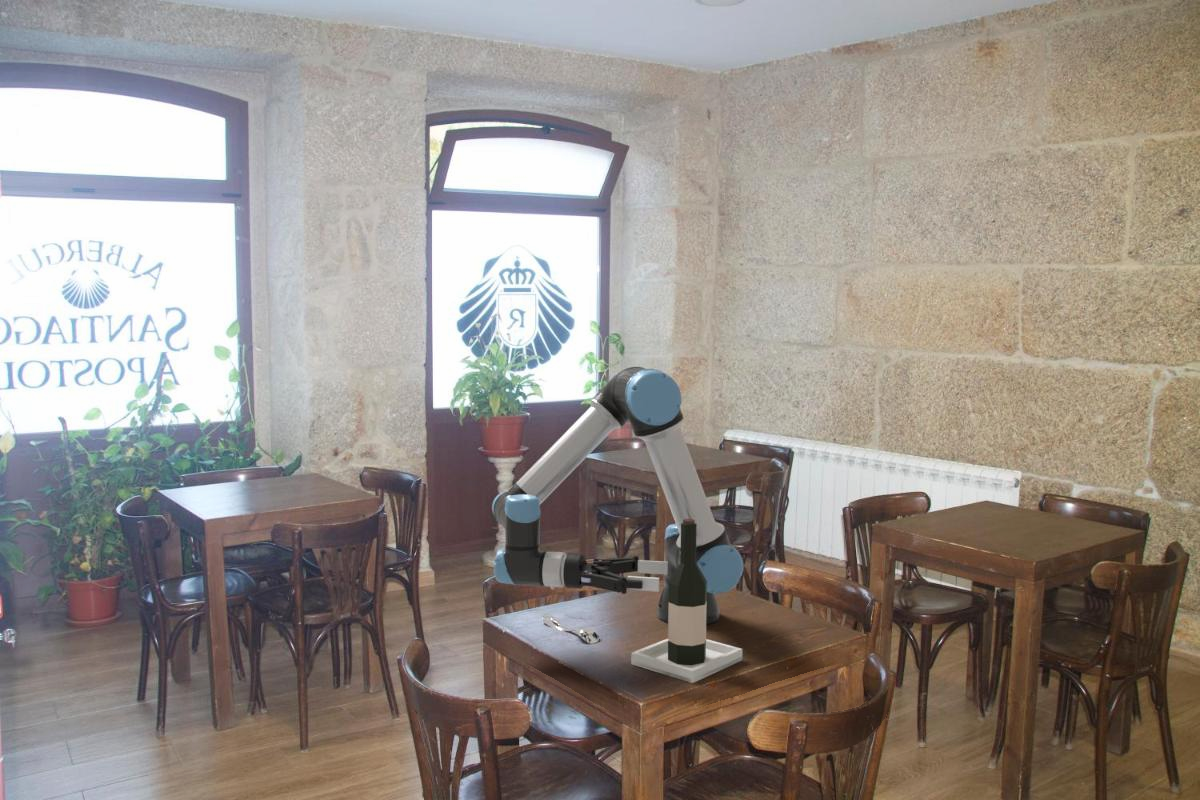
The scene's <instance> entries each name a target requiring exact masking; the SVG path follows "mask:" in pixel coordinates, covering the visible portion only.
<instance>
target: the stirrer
mask: <svg viewBox="0 0 1200 800" xmlns="http://www.w3.org/2000/svg"><path fill="white" fill-rule="evenodd" d="M547 618H550V619H551V620H550V619H547ZM541 620H542V621H543V623H544V624H546V625H547V626H548V627H550V628H552V629H558V630H560V631H563V632H576V634H577V636H579V637H580V638H582V639H583V641H585V642H586V643H587V644H589V645H590V644H596V643H598V642H599V640H600V636H599V633H598V631H596V630H595V629H593V628H592V627H580V628H575V629H567V628H565V627H563V625H562V624H561V623H560V622H559V620H558V619H557V618H556V617H554V616H553V615H551V614H549V613H547V614H546V613H545V614H542V615H541Z"/></svg>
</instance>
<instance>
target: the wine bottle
mask: <svg viewBox="0 0 1200 800" xmlns="http://www.w3.org/2000/svg"><path fill="white" fill-rule="evenodd" d="M696 534H697V524H696V523H695V520H693V519H684V520H683V523H681V561H680V565H679V566H678V568H677V570H676V571H675V573H674V575H673V576H672V578H671V580H670V582H669V609H668V622H667V625H668V627H667V639H668V660H669V661H671V662H673V663H676V664H681V665H696V664H700V663H704V661H705V658H706V639H707V624H706V606H707V580H706V579H705V577H704V575H703V574H702V572H701V570H700V568H699V567H698V565H697V563H696Z"/></svg>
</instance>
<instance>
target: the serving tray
mask: <svg viewBox="0 0 1200 800" xmlns="http://www.w3.org/2000/svg"><path fill="white" fill-rule="evenodd" d="M630 659H631V660H630V661H631V662H630V664H631V665H633V666H635V667H639V668H642V669H645V670H648V671H652V672H655V673H658V674H662V675H664V676H668V677H671V678H674V679H677V680H681V681H684V682H687V683H690V684H694V683H697V682H698V681H700V680H702V679H705V678H707V677H709V676H711V675H713V674H715V673H717V672H720V671H723V670H724V669H726V668H728V667H730V666H733V665H735V664H738V663H740V662H742V661H743V648H740V647H736V646H733V645H730V644H725V643H722V642H718V641H716V640H711V639H707V638H706V658H705V661H704V663H700V664H696V665H681V664H676V663H673V662H671V661H669V660H668V638H666V639H663V640H660V641H658V642H656V643H652V644H650V645H647V646H645V647H643V648H640V649H637V650H635V651H633V652H631V656H630Z"/></svg>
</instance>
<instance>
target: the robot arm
mask: <svg viewBox="0 0 1200 800" xmlns="http://www.w3.org/2000/svg"><path fill="white" fill-rule="evenodd" d="M681 406H682V392H681V389H680V387H679V385H678V383H677V382H676V381H675V380H674V379H673V377H671V376H670V375H669V374H667V373H665V372H663V371H661V370H659V369H654V368H645V367H641V366H631V367H626V368H625V369H622V370H621V371H619V372H617V373H616V374H614V376H613V377H612V378H610V379H609V381H608V382H607V383H606V384H605V385H604V386H603V387H602V388H601V389H600V390H599V391H598V392H597V393H596V394H595V395H594V396H593V397H592V398H591V399H590V407H589V408H587V410H586V411H585V412H584V413H583V414H582V415H580V417H579V418H578V419H577V420H576V421H575V422H574V423H573V424H572V425H570V427H569V428H568V429H567V430H566V431H565V433H563V434H562V435H561V437H559V438H558V439H557V440H556V442H554V443H553V444H552V446H550V448H549V449H548V450H547V451H546V452H545V453H544V454H543V455H542V456H540V458H539V459H538V460H537V461H536V462H535V463H534V464H533V465H532V466H531V467H530V468H529V469H528V470H527V471H526V472H525V473H524V475H523V476H522V477H520V478H519V480H518V481H516V483H514V484H513V485H512V486H511V487H510V488H509V489H508V490H507V491H502V492H501V493H499V494H497V495H496V497H494V499H493V501H492V503H491V504H492V505H491V511H492V514H493V515H494V516H493V517H494V519H496V522H497V523H498V524H499V525H501V526H502V527H503V529H504V531H505V534H504V535H505V545H504V546H505V547H504V548H501V549H499V550H497V552H496V554H495V557H494V564H493V573H494V578H495V579H496V581H497V582H499V583H501V584H505V585H507V584H508V585H513V586H531V587H550V589H551V590H555V588H563V587H565V588H567V589H575V590H576V589H577V590H578V589H579V590H581V589H583V588H584V587H593V588H597V589H602V590H606V591H611V592H614V593H615V592H616V593H621V594H622V595H625V594H627V592H628V591H627V590H629V591H641V592H643V591H645V592H658V593H659V591H660V577H651V576H649V577H648V576H637V575H636V576H635V575H633V576H632V575H628V576H627V577H626V576H622V575H621V574H626V573H633V572H637V573H638V574H650V575H664V586H663V589H662V592H661V595H660V597H659V600H658V604H657V611H656V613H657V614H656V615H657V617H658V619H660V620H661V621H663V622H667V623H668V609H669V582H670V580H671V578H672V576H673V575H674V573H675V571H676V570H677V568H678V566H679V565H680V561H681V523H683V520H684V519H693V520H695V523H696V524H697V534H696V563H697V565H698V567H699V568H700V570H701V572H702V574H703V575H704V577H705V579H706V580H707V606H706V625H707V624H712V623H714V622H717V621H718V620H719V619H720V606H719V604H718V600H717V597H716V595H721V594H724V593H727V592H729V591H730V590H732V589H734V588H735V587H736V585H738V583H739V581H740V579H741V577H742V575H743V573H744V560H743V557H742V555H741V553H740V552H739V550H737V548H736V547H734V546H732V544H731V542H730V539H729V536H728V534H727V531H726V529H725V525H723V524H722V523H719V522H717V521H716V520H715V518H714V515H713V513H712V509H711V506H710V505H709V501H708V499H707V496H706V494H705V491H704V488H703V485H702V482H701V481H700V478H699V475H698V472H697V469H696V467H695V464H694V461H693V458H692V456H691V453H690V450H689V448H688V445H687V443H686V440H685V437H684V434H683V432H682V429H681V425H682V423H683V422H684V419H685V418H684V415H683V413H682V409H681ZM628 422H629V423H630V426H631V428H632V431H633V434H634V437H636V438H637V439H640V440H642V441H644V444H645V446H646V450H647V452H648V455H649V456H650V459H651V462H652V465H653V467H654V470H655V472H656V476H657V478H658V481H659V483H660V486H661V489H662V491H663V493H664V496H665V499H666V502H667V504H668V506H669V509H670V511H671V515H672V517H673V519H674V522H675V523H673V524H672V523H671V524H669V525H668V526H667V527H666V529H665V536H664V560H649V559H648V560H645V559H639V558H640V557H639V555H634V556H629V557H617V558H616V557H614V558H613V557H612V558H592V559H593V562H587V558H586V556H585V554H584V553H579V552H578V553H577V552H568V553H566V552H565V551H563V552H562V551H542V550H540V549H541V548H540V547H541V546H540V545H541V541H540V540H541V538H540V537H541V515H542V510H541V506H540V505H541V504H543V502H545V500H546V499H548V497H549V496H550V495H551V494H553V492H554V491H555V490H556V489H557V488H558V487H559V486H560V485H561V484H562V482H565V480H566V479H567V478H568V476H570V475H571V474H572V473H573V471H575V469H577V468H578V467H579V465H581V464H582V462H583V461H585V459H587V457H588V456H589V455H590V454H592V452H593V451H594V450H595V449H596V448H597V447H598V446H599V445H600V444H601V443H602V442H603V441H604V440H605V439H606V438H607V437H608V436H609V435H610V434H611V433H612V431H614V430H621V428H622V427H623V426H624V425H626V424H627V423H628ZM619 574H620V575H619Z"/></svg>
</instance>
